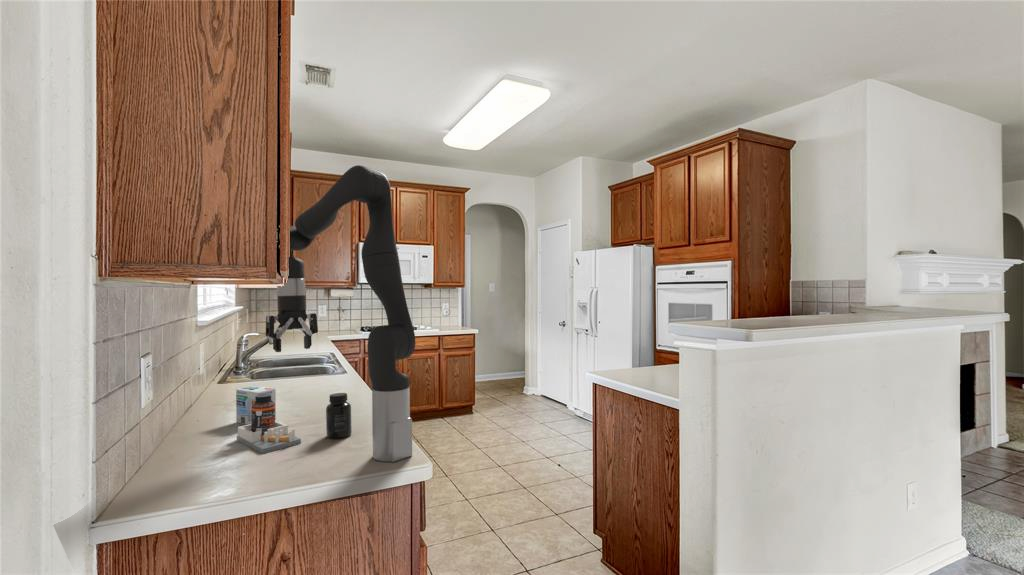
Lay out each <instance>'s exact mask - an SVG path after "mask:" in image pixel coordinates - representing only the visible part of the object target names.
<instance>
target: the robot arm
mask: <svg viewBox="0 0 1024 575" xmlns="http://www.w3.org/2000/svg"><path fill="white" fill-rule="evenodd" d="M353 201H356V202H360V203H364V204H366V207H367V211H368V217H369V219H368V220H369V226H368V231H367V234H366V236H365V239H364V241H363V244H362V247H361V262H362V267H363V273H364V277H365V281H366V282H367V284H368V286H369V287H370V289H372V291H373V292H374V295H376V296H377V298H378V299H379V301H380V302H381V305H382V306H383V308H384V311H385V315H386V319H387V324H385V325H378V326H374V327H373V328H372V329H371V331H370V332H369V334H368V337H367V347H366V348H367V362H368V374H369V379H370V381H371V391H372V392H371V397H372V398H371V401H372V402H371V405H372V406H371V412H372V413H371V414H372V422H371V424H372V429H371V430H372V458H373V459H374V460H375V461H378V462H391V463H395V462H397V461H401V460H403V459H406V458H408V457H412V456H413V419H412V417H411V409H410V405H411V404H410V403H411V401H410V396H411V395H410V377H409V375H408V374H406V373H403V372H399V371H398V370H397V366H396V364H397V363H396V361H399V360H404V359H408V358H410V357H411V356H412V355H413V354H414V352H415V349H416V335H415V330H414V329H415V328H414V326H413V322H412V318H411V315H410V311H409V308H408V304H407V299H406V295H405V289H404V283H403V279H402V272H401V264H400V258H399V252H398V249H397V247H398V246H397V242H396V235H395V228H394V221H393V209H392V208H393V207H392V204H393V203H392V192H391V183H390V181H389V179H388V177H387V176H386V174H384V173H383V172H381V171H379V170H377V169H373V168H371V167H367V166H364V165H354V166H352V167H350V168H348V169H347V171H345V172H344V173H343V174H342V175H341V177H340V178H339V179H338V180H337V181H336V182H335V183H334V184H333V185H332V186H331V187H330V189H329V190H328V191H327V192H326V193H325V194H324V195H323V196H322V197H321V198H320V199H319V200H318V201H317V202H315V203H314V204H313V205H312V206H311V207H309V208H308V209H307V210H305V211H303V212H302V213H301V214H300V215H299V216H297V217H296V218H295V221H294V225H289V226H290V257H289V276H288V280H287V283H285V284H284V285H285V286H282V287H281V286H277V285H276V290H277V291H276V294H277V296H276V298H277V299H276V301H277V315H275V316H274V315H267V316H265V337H267V338H271V339H272V347H273V351H275V353H281V352H282V338H281V337H282V336H283V334H284V333H285V332H286V331H287V330H288V331H289V330H291V331H292V330H300V331H301V333H303V348H304V349H305V350H309V349H310V348H311V347H312V345H313V344H312V342H313V341H312V335H314V334H318V332H319V326H318V318H317V317H318V315H317V313H315V312H312V313H307V292H306V291H307V289H306V288H307V287H306V280H305V262H304V261H303V260H302V259H300V258H297V257H295V256H294V254H293V253H292V251H297V252H298V251H303V250H305V249H307V248H308V247H310V246H311V244H312V242H314V240H315V238H316V236H318V235H319V234H321V233H322V232H324V231H325V230H327V229H329V227H330V226H332V225H333V224H334V222H335V221H336V218H337V216H338V213H339V210H340V209H341V208H343V207H344V206H345V205H347V204H349V203H351V202H353ZM306 320H307V321H308V322H309V323H308V324H309V325H307V322H306ZM277 322H278V323H279V324H278V326H277V327H276V328H275V324H276V323H277Z"/></svg>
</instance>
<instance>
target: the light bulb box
mask: <svg viewBox="0 0 1024 575" xmlns="http://www.w3.org/2000/svg"><path fill="white" fill-rule="evenodd" d="M276 389H277V388H275V387H268V386H260V385H251V386H246V387H242V388H238V389H236V390H235V391H236V392H235V394H236V396H235V398H236V400H235V401H236V402H235V403H236V405H235V407H236V408H235V409H236V411H235V412H236V415H235V416H236V417H235V418H236V419H235V420H236V423H238V424H241V425H249V424H251V419H252V418H251V413H252V412H251V411H252V405H253V404H254V403H255V401H256V400H255V397H256V395H259V394H271V400H272V401H273V402H274V403H275V420H276V421H277V419H276V418H277V417H276V416H277V414H276V412H277V411H276V410H277V409H276V407H277V406H276V405H277V404H276V403H277V402H276V400H277V399H276V398H277V397H276V394H277V393H276Z"/></svg>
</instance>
